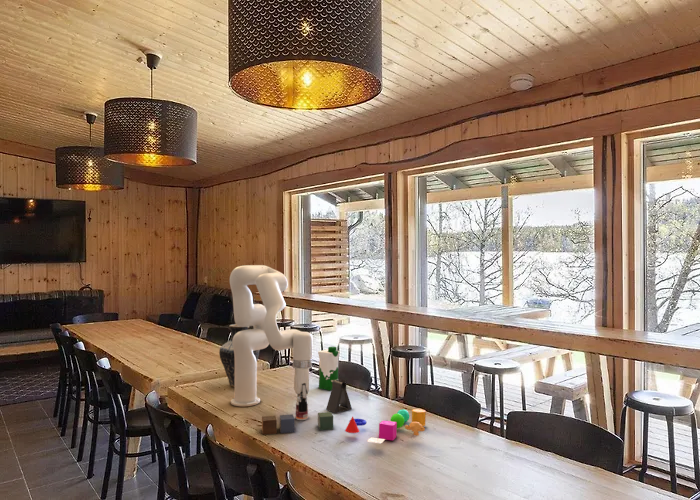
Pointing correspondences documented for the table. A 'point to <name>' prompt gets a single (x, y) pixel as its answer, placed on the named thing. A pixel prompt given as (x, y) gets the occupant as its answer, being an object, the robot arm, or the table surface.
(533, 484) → the table surface
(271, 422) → the walnut block
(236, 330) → the jug
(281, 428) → the slate blue block
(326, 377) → the milk carton
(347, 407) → the phone stand
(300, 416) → the pill bottle
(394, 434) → the shape set
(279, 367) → the table surface
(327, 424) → the dark green block
